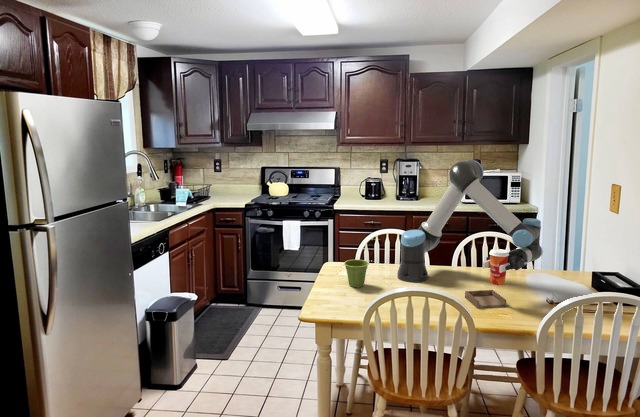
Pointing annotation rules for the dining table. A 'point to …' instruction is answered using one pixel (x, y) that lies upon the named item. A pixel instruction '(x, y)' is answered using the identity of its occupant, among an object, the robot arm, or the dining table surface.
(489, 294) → the walnut bay
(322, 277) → the dining table surface
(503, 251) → the paper cup
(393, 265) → the dining table surface
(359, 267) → the plant pot
